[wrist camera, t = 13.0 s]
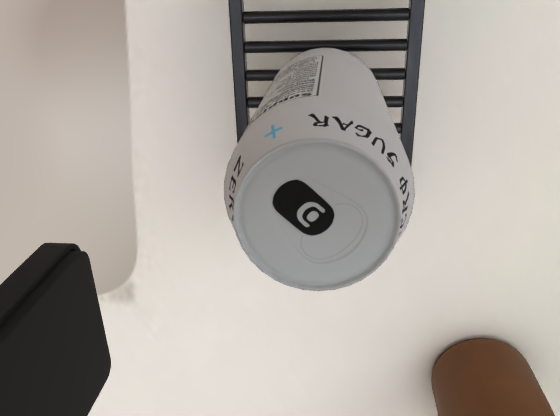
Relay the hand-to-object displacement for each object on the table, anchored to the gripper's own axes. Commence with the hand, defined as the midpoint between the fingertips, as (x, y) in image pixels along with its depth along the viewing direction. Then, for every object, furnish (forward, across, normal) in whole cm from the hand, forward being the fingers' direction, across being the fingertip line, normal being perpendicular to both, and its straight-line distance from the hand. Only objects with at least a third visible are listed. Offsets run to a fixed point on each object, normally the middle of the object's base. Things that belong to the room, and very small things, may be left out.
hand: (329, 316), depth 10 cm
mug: (+25, -12, +26) cm, 38 cm away
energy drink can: (+20, 0, +1) cm, 21 cm away
